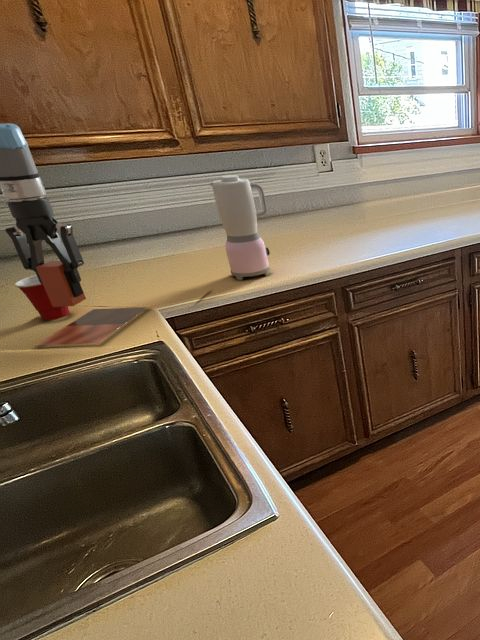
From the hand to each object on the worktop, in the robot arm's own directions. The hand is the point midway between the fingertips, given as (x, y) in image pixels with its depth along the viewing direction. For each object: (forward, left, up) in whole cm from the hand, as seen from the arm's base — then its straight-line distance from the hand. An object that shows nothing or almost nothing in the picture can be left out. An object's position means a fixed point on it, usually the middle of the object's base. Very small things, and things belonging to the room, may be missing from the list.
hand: (66, 295), depth 128 cm
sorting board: (0, +6, -11) cm, 13 cm away
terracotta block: (0, 0, -2) cm, 2 cm away
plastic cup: (-16, +14, -12) cm, 24 cm away
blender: (+28, +49, -11) cm, 58 cm away
